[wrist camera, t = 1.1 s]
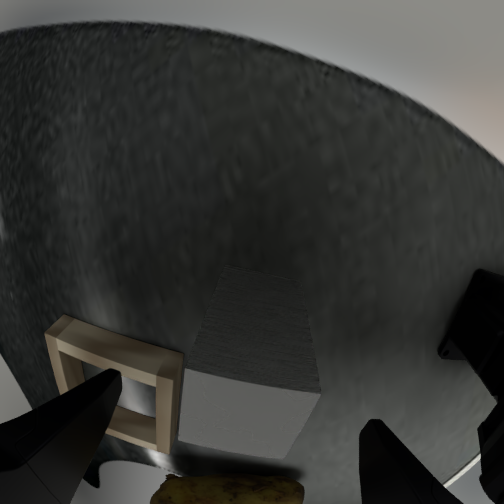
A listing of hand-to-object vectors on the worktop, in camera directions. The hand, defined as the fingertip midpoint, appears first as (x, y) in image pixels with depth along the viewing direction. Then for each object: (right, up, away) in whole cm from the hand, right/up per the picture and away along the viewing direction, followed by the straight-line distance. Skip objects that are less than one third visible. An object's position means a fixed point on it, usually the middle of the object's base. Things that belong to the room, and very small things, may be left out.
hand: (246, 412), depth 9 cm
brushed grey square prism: (0, +2, +7) cm, 8 cm away
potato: (-2, -15, +14) cm, 21 cm away
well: (-9, -4, +10) cm, 14 cm away
